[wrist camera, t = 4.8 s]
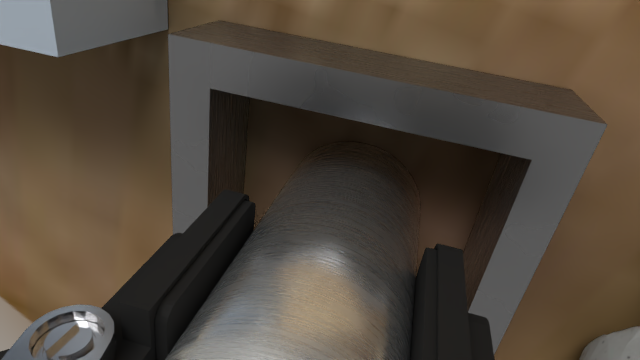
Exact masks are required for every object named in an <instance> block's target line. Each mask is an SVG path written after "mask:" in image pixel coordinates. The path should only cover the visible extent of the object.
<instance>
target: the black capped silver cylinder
mask: <svg viewBox="0 0 640 360" xmlns="http://www.w3.org/2000/svg"><path fill="white" fill-rule="evenodd" d="M420 208H421V203H420V195H419V191H418V188H417V186H416V183H415V181H414V179H413V177H412V176H411V174H410V173H409V171H408V170H407V169H406V167H405V166H404V165H403V164H402V163H401V162H400V161H399V160H397V159H396V158H395V157H393V156H392V155H391V154H389V153H387V152H386V151H384V150H382V149H379V148H377V147H375V146H372V145H368V144H364V143H358V142H338V143H333V144H329V145H326V146H323V147H321V148H319V149H317V150H315V151H313V152H312V153H311V154H309V155H308V156H307V157H306V158H305V159H304V160H303V161H302V162H301V163H300V164H299V165H298V167H297V168H296V170H295V171H294V173H293V174H292V175H291V177H290V178H289V180H288V181H287V183H286V184H285V186H284V187H283V189H282V190H281V191H280V193H279V194H278V196H277V197H276V199H275V200H274V202H273V203H272V205H271V206H270V207H269V209H268V210H267V212H266V213H265V215H264V216H263V218H262V219H261V221H260V222H259V223H258V225H257V226H256V228H255V229H254V231H253V232H252V234H251V235H250V237H249V238H248V239H247V241H246V242H245V244H244V245H243V247H242V248H241V250H240V251H239V253H238V254H237V255H236V257H235V258H234V260H233V261H232V263H231V264H230V266H229V267H228V269H227V270H226V272H225V273H224V274H223V276H222V277H221V279H220V280H219V282H218V283H217V285H216V286H215V288H214V289H213V290H212V292H211V293H210V295H209V296H208V298H207V299H206V301H205V302H204V304H203V305H202V306H201V308H200V309H199V311H198V312H197V314H196V315H195V317H194V318H193V320H192V321H191V322H190V324H189V325H188V327H187V328H186V330H185V331H184V333H183V334H182V336H181V337H180V338H179V340H178V341H177V343H176V344H175V346H174V347H173V349H172V350H171V352H170V353H169V354H168V356H167V357H166V359H165V360H410V349H411V335H412V321H413V307H414V293H415V279H416V265H417V251H418V237H419V223H420Z"/></svg>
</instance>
